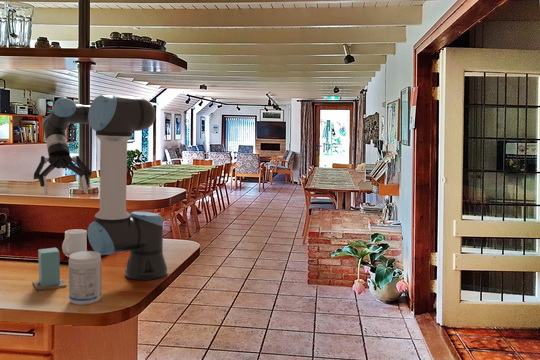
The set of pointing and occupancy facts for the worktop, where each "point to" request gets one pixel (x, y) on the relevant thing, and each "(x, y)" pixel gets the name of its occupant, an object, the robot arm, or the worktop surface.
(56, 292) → the worktop surface
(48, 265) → the tall teal pillar
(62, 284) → the grey pedestal stand
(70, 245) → the mug
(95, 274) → the supplement tub
